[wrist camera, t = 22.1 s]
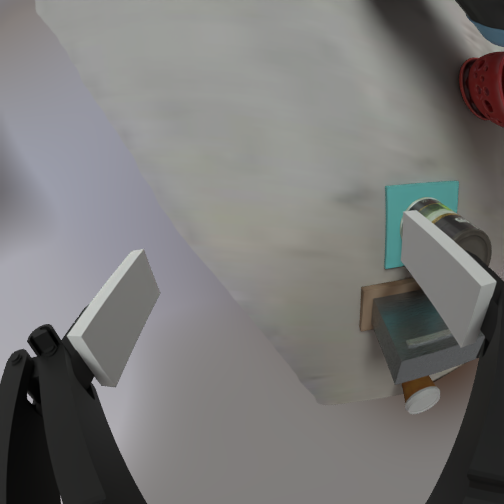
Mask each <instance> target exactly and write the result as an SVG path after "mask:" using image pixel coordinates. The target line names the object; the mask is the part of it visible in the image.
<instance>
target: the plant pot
mask: <svg viewBox="0 0 504 504" xmlns="http://www.w3.org/2000/svg"><path fill="white" fill-rule="evenodd" d="M459 84H460V90H461V93H462V96H463V99H464V101H465V103H466V105H467V106H468V108H469V109H470V110H471V112H472V113H473V114H474V115H476V116H477V117H479V118H480V119H483V120H490V121H492V122H494V123H495V124H497V125H499V126H501V127H504V52H494V53H489V54H486V55H484V56H482V57H480V58H470V59H468V60H466V61H465V62H464V63H463V65H462V67H461V69H460V74H459Z"/></svg>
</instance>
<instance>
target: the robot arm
mask: <svg viewBox="0 0 504 504" xmlns="http://www.w3.org/2000/svg"><path fill="white" fill-rule="evenodd" d="M455 1H456V2H457V3H458V4H459V6H460V7H461V8H462V9H463V11H464V12H465V13H466V16H467V18H468V19H469V20H470V21H471V22H472V23H473V24H474V25H475V26H476V27H477V29H478V30H479V31H480V33H481V34H482V35H483V37H484V38H485V39H487V40H488V41H490V42H491V43H493V44H495V45H498V46H502V47H504V0H455ZM401 262H402V263H403V264H404V265H405V267H406V268H407V269H408V271H409V272H410V273H411V275H412V276H413V277H414V279H415V280H416V282H417V283H418V284H419V286H420V287H421V288H422V290H423V291H424V293H425V294H426V295H427V297H428V298H429V300H430V301H431V303H432V304H433V306H434V307H435V308H436V310H437V311H438V313H439V314H440V316H441V317H442V319H443V320H444V322H445V324H446V325H447V327H448V328H449V330H450V331H451V333H452V334H453V336H454V338H455V339H456V341H457V343H458V344H459V346H460V347H461V348H462V347H465V346H467V345H470V344H473V343H476V340H477V338H478V335H479V333H480V330H481V332H482V333H483V335H484V336H485V338H484V340H483V343H482V345H481V347H480V350H479V352H478V354H477V356H476V358H479V362H478V367H477V372H476V376H475V380H474V384H473V388H472V392H471V396H470V399H469V403H468V406H467V409H466V413H465V415H464V418H463V421H462V424H461V427H460V430H459V433H458V435H457V438H456V441H455V444H454V446H453V448H452V451H451V453H450V456H449V458H448V460H447V462H446V465H445V467H444V469H443V471H442V474H441V475H440V478H439V480H438V482H437V484H436V486H435V488H434V489H433V491H432V493H431V495H430V497H429V499H428V500H427V502H426V503H425V504H504V281H503V280H502V279H501V278H500V277H499V276H498V275H497V274H496V273H495V272H494V271H493V270H491V269H490V268H488V266H487V265H486V264H485V263H483V261H482V260H481V259H480V258H479V257H478V256H477V255H475V254H473V253H471V252H469V251H467V250H465V251H464V250H463V249H462V248H461V247H460V246H459V245H458V244H457V243H455V242H454V241H453V240H452V239H451V238H450V237H449V236H447V235H446V234H445V233H444V232H443V231H441V230H440V229H439V228H438V227H437V226H435V225H434V224H433V223H432V222H431V221H429V220H428V219H427V218H426V217H424V216H423V215H422V214H421V213H419V212H418V211H417V210H412V211H404V212H403V233H402V251H401ZM159 295H160V291H159V288H158V286H157V283H156V281H155V278H154V275H153V273H152V270H151V267H150V265H149V262H148V259H147V257H146V254H145V251H144V249H142V250H135V251H131V252H130V254H129V255H128V256H127V257H126V258H125V260H124V261H123V262H122V263H121V264H120V266H119V267H118V268H117V269H116V271H115V272H114V273H113V275H112V276H111V277H110V278H109V279H108V281H107V282H106V283H105V285H104V286H103V287H102V288H101V290H100V291H99V292H98V294H97V295H96V296H95V298H94V299H93V300H92V302H91V303H90V304H89V305H88V306H87V307H85V308H84V310H83V311H82V312H81V314H80V315H79V317H78V318H77V319H76V320H75V323H73V325H72V326H71V327H70V329H69V330H68V332H67V333H66V335H65V336H64V337H63V339H62V340H61V339H60V338H59V336H58V335H57V333H56V332H55V330H54V329H53V327H52V326H51V325H50V324H46V325H42V326H40V327H38V328H37V329H35V330H34V331H33V332H32V333H31V334H30V336H29V338H28V340H27V342H28V343H29V345H30V346H31V348H32V349H33V351H34V352H35V354H36V355H37V357H33V358H31V357H30V355H29V354H28V352H27V351H26V350H24V349H21V350H18V351H15V352H14V353H13V354H12V355H11V356H10V358H9V359H8V361H7V363H6V367H5V369H4V373H3V376H2V380H1V383H0V504H61V499H60V496H61V498H62V502H63V504H147V503H146V501H145V499H144V498H143V496H142V494H141V492H140V491H139V489H138V487H137V485H136V483H135V481H134V479H133V478H132V476H131V474H130V472H129V470H128V468H127V466H126V464H125V461H124V459H123V457H122V455H121V453H120V451H119V449H118V447H117V444H116V442H115V440H114V437H113V435H112V432H111V430H110V427H109V425H108V422H107V420H106V417H105V414H104V412H103V409H102V406H101V403H100V401H99V398H98V395H97V392H96V389H95V387H94V386H93V384H92V383H91V382H92V380H93V378H94V377H95V378H96V379H97V380H98V382H99V383H100V384H101V386H109V387H116V386H117V384H118V381H119V379H120V377H121V374H122V372H123V370H124V368H125V366H126V363H127V361H128V359H129V357H130V355H131V353H132V350H133V348H134V346H135V344H136V342H137V340H138V338H139V336H140V333H141V331H142V329H143V327H144V325H145V323H146V321H147V319H148V317H149V315H150V313H151V311H152V309H153V307H154V305H155V303H156V301H157V299H158V297H159ZM479 356H480V357H479ZM27 393H28V394H29V395H30V396H31V398H32V399H33V404H31V403H30V402H29V401H28V400H27Z"/></svg>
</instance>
